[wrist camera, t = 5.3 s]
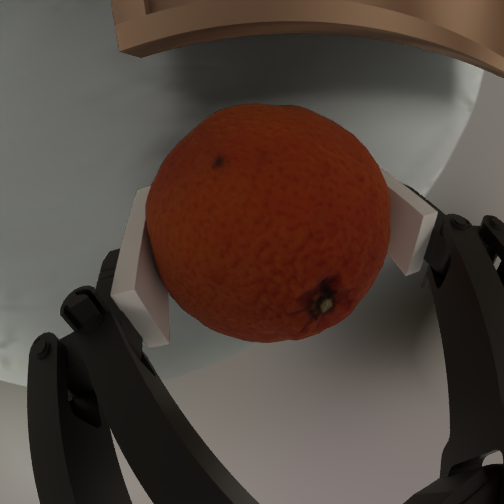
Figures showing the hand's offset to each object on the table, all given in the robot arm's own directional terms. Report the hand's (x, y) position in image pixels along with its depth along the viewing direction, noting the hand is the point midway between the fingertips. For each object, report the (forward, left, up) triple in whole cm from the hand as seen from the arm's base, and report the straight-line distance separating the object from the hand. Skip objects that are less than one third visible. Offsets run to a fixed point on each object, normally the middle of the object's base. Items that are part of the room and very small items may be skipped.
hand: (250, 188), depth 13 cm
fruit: (0, 0, -1) cm, 1 cm away
